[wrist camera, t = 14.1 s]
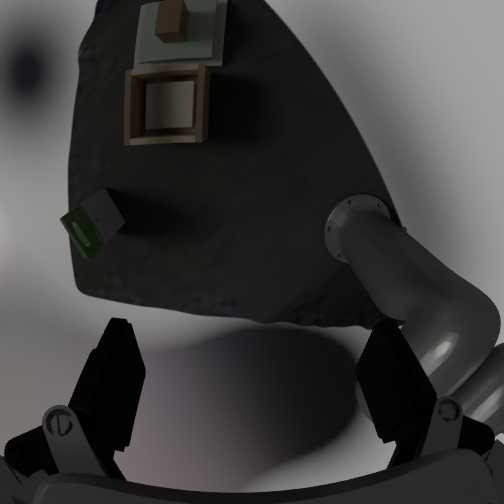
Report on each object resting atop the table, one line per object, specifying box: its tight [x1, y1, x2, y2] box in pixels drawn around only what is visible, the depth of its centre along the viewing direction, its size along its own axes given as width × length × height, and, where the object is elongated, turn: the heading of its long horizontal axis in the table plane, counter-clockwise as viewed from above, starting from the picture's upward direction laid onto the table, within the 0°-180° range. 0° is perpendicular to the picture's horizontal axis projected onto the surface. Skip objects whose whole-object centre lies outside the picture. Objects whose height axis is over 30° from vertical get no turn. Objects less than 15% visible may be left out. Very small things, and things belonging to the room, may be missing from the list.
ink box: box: [60, 188, 125, 261], centre depth 35 cm, size 7×4×13 cm, turn 24°
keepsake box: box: [124, 63, 211, 146], centre depth 31 cm, size 10×10×7 cm
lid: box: [138, 0, 218, 64], centre depth 25 cm, size 10×10×7 cm
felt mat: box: [134, 0, 228, 69], centre depth 28 cm, size 13×12×1 cm
